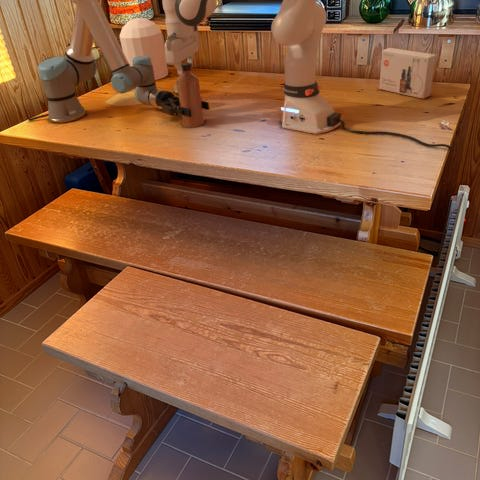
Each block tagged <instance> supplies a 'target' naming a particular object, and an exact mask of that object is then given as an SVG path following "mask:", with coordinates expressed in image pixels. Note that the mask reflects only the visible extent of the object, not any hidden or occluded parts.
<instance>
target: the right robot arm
mask: <svg viewBox="0 0 480 480" xmlns="http://www.w3.org/2000/svg"><path fill="white" fill-rule="evenodd" d="M161 1H162V2H161V3H162V8H163V11H164V15H165V21H164V22H165V27H166V33H167V36H166V40H165V43H164V51H165V57H166V63H167V66H168V65H169V66H174V67H175V69H176V72H177V75H178V76H180V75H182V74H183V73H184V70H183V68H182V67H181V64H182V62H183V61H185V60H186V59H187V61H186V63H190V65H191V69H192V68H194V64H193V63H194V55H195V54H196V53H198V52H199V49H200V40H199V33H198V31H199V25H200V24H201V23H202V22H203V21H204V20H206V19H207V18H209V17H210V16H212V15H213V13H214V12H215V11H216V9H217V4H218V3H217V2H218V1H217V0H161ZM317 1H318V0H282V2H281V5H280V7H279V10H278V12H277V14H276V16H275V17H274V19H273V20H272V22H271V25H270V32H271V36H272V38H273V40H274V42H276V43H277V44H278V45H280V46H283V47H286V46H287V47H288V50H287V53H286V55H285V56H284V57H285V58H284V59H283V60H284V61H283V67H284V68H283V70H284V82H283V89H282V90H283V94H284V103H283V107H280V109H281V111H282V116H281V120H280V121H281V128H282V129H288V130H292V131H298V132H303V133H309V134H313V135H314V134H315V135H319V134H324V133H328V132H331V131H332V130H335V129H337V128H338V127H339V126H340V125H341V124H342V125H341V129H342V130H344V131H348V132H350V133H354V134H365V135H366V134H367V135H368V134H369V135H370V134H373V135H374V134H375V135H377V134H379V135H380V134H381V135H390V136H397V137H402V138H406V139H409V140H412V141H414V142H416V143H418V144H420V145H423V146H426V147H430V148H434V147H445V148H447V149H449V150H450V151H451V152H454V151H455V150H454V148H453V147H452V146H451V145H448V144H445V143H427V142H424V141H422V140H419V139H417V138H415V137H413V136H410V135H407V134H403V133H398V132H391V131H377V130H376V131H373V130H372V131H369V130H368V131H367V130H349V129H347V128H345V121H344V120H342V113H340V112H335V110H334V109H335V108H334V106H333V105H332V104H331V103H330V102H329V101H328V100H327V99H326V98H325V97H324V96H323V95H322V94H321V93H320V90H321V89H322V86H323V85H322V84H320V85H319V84H318V81H317V57H318V51H319V46H320V41H321V38H322V37H321V36H322V34H323V29H324V28H325V25H326V23H327V11H326V10H325V8H324V7H323V5H322V4H320V3H318V2H317ZM453 199H454V198H451V199H450V200H449V203H448V207H447V212H446V216H445V222H444V227H443V231H442V234H441V240H440V244H439V249H438V255H437V259H436V262H437V263H440V261H441V260H440V259H441V254H442V249H443V244H444V239H445V236H446V232H447V227H448V223H449V218H450V214H451V209H452V206H453V205H452V203H453Z"/></svg>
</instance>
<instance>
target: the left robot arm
mask: <svg viewBox="0 0 480 480" xmlns="http://www.w3.org/2000/svg"><path fill="white" fill-rule="evenodd" d="M70 1H71V3H73V4H75V5H76V6H75V13H74V19H73V24H72V25H73V26H72V32H71V39H70V45H68V46H66V48H65V51H64V56H54V57H53V56H52V57H50V58H46V59H44V60H43V61H41V62H40V63H39V64H38V65H37V70H38V76H39V78H40V81H41V85H42V87H43V91H44V93H45V96H46V99H47V102H48V103H47V109H48V110H47V111H48V113H45V114H41V115H37V116H34V117H31V118H30V117H29V118H27V119H28V121H29V122H30V121H35V120H38V119H41V118H45V117H48V120H49V122H51V123H55V124H63V123H70V122H74V121H78V120H80V119H82V118H83V117H85V116H86V110H85V108H84V106H83V105H82V104H81V101H80V100H79V98H78V97H77V93H76V90H75V88H76V87H77V86H79V85H82V84H84V83H86V82H88V81H90V80H91V79H93V78H95V76H96V74H97V71H98V63H97V62H96V58H95V55H94V53H93V52H92V50H93V46H94V42H95V43H96V45H97V47H98V49H99V51H100V53H101V55H102V57H103V59H104V61H105V62H106V65H107V66H108V69H109V71H110V72H111V74H112V77H111V78H110V83H111V87H112V89H113V90H114V91H115V92H117V93H118V94H123V95H124V94H126V93H129V92H131V91H132V90H134V89H135V90H134V97H135V99H136V101H137V102H138V103H141V104H143V105H145V106H150V107H154V108H157V109H158V111H159V112H163V113H166V114H168V115H170V116H174V115H175V117H179V115H181V116H182V115H184V116H188V117H192V116H191V110H190V109H187V108H183V107H180V102H179V96H178V95H175V93H173V92H172V91H169V90H165V89H162V88H157V83H156V80H155V77H154V71H153V65H152V62H151V58H150V57H149V56H137V57H134V58H133V60H132V61H133V66H130V65H129V63H128V61H127V59H126V57H125V55H124V53H123V50H122V45H121V43H119V40H118V38H117V36H116V34H115V32H114V31H113V28H112V27H111V24H110V22H109V20H108V18H107V16H106V13H105V12H104V10H103V8H102V6H101V5H102V0H70ZM201 101H202V109H203V110H207V111H209V110H210V103H209V101H204V100H202V98H201Z"/></svg>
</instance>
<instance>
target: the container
mask: <svg viewBox="0 0 480 480" xmlns="http://www.w3.org/2000/svg"><path fill="white" fill-rule="evenodd" d="M119 41H120V46H121V48H122V50H123V53H124V55H125V57H126V59H127V61H128V63H129V65H130V66H133V61H132V60H133V58H134V57H137V56H149V57H150V58H151V62H152V65H153V71H154V77H155V81H157V80H161V79H163V78H165V77H168V75H169V68H168V64H167V62H166V57H165V44H164V39H163V32H162V30H161V29H160V27H159V26H158V25H157V24H156V23H155V22H154V21H152V20H150V19H148V18H144V17H136V18H132V19H129V20H128V21H127V22H126V23H125V24H124V25H123V26H122V28H121V31H120V33H119Z"/></svg>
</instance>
